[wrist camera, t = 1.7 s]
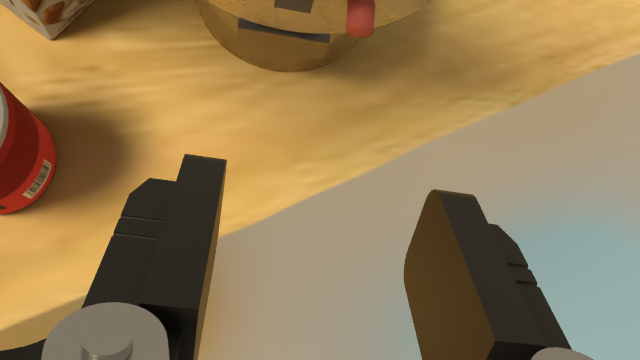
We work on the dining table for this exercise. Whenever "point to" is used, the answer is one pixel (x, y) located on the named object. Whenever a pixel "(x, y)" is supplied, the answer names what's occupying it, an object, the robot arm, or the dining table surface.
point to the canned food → (22, 154)
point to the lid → (322, 14)
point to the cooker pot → (273, 42)
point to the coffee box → (47, 13)
